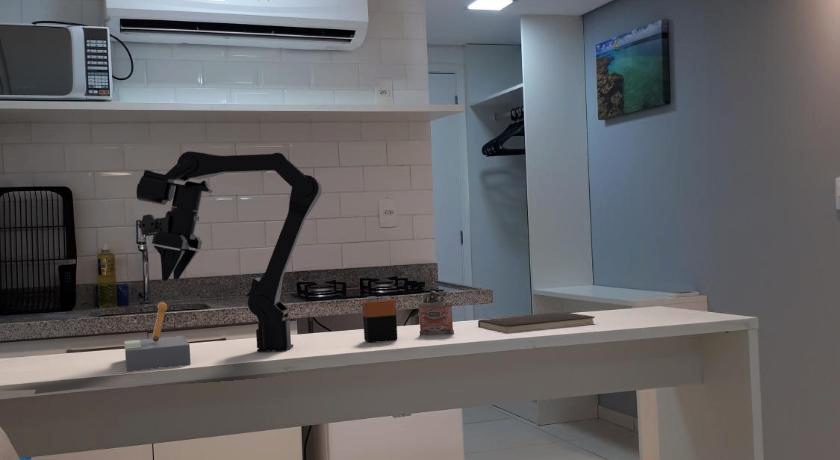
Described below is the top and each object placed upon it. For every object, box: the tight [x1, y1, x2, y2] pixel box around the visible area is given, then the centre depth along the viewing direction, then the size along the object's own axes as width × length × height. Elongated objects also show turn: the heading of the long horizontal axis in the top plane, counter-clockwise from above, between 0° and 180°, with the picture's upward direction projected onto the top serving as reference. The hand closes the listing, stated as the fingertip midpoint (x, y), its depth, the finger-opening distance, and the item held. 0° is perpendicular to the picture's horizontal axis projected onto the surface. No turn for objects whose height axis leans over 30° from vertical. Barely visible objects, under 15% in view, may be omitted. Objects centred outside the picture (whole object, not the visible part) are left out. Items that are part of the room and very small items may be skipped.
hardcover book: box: [477, 311, 596, 334], centre depth 192 cm, size 16×23×2 cm
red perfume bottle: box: [417, 290, 455, 336], centre depth 186 cm, size 8×3×10 cm, turn 76°
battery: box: [361, 295, 398, 344], centre depth 180 cm, size 4×7×10 cm, turn 108°
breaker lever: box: [151, 301, 168, 342], centre depth 166 cm, size 2×4×8 cm, turn 20°
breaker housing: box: [124, 335, 191, 372], centre depth 166 cm, size 12×18×4 cm, turn 21°
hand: (170, 279), depth 174 cm, fingers open, 9 cm apart
